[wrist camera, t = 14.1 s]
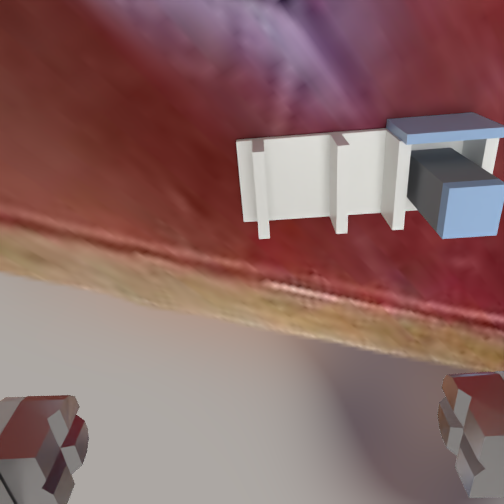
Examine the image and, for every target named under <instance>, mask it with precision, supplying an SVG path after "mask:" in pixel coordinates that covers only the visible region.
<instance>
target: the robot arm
mask: <svg viewBox="0 0 504 504" xmlns="http://www.w3.org/2000/svg"><path fill="white" fill-rule="evenodd" d="M442 390H443V392H444V394H445V396H446V397H445V398H444V399H443V400H442V401H440V402H439V406H438V414H437V415H438V424H439V429H440V433H441V436H442V439H443V441H444V443H445V446H446V448H447V449H449V450H450V451H451V452H453V453H454V454H455V455H456V456H457V460H456V465H455V468H456V470H457V472H458V475H459V477H460V479H461V481H462V483H463V485H464V488H465V490H466V492H467V494H468V497H469V498H491V497H492V498H493V497H504V371H496V372H480V373H464V374H449V375H446V376H445V377H444V379H443V383H442ZM78 409H79V404H78V403H77V400H76V398H75V396H71V395H62V396H28V397H6V398H4V399H3V400H1V401H0V504H67V503H68V500H69V498H70V495H71V493H72V490H73V488H74V485H75V483H74V480H73V477H72V474H73V473H74V472H75V471H76V470H77V469H78V468H79V467H80V466H82V464H83V462H84V459H85V456H86V453H87V448H88V440H89V437H88V428H87V425H86V423H85V421H84V420H83V419H82V418H80V417H79V416H77V415H76V414H77V411H78Z"/></svg>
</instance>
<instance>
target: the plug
mask: <svg viewBox="0 0 504 504" xmlns="http://www.w3.org/2000/svg"><path fill="white" fill-rule="evenodd" d="M407 198H408V199H409V200H410V202H411V203H412V204H413V205H414V206H415V207H416V209H417V210H418V211H419V212H420V213H421V214H422V216H423V217H424V218H425V219H426V220H427V221H428V223H429V224H430V225H431V226H432V227H433V229H434V230H435V231H436V232H437V233H438V234H439V236H440V237H441V238H442V239H447V238H462V237H477V236H492V235H497V231H498V226H499V221H500V217H501V212H502V207H503V202H504V182H503V181H501V180H500V179H498V178H497V177H495V176H494V175H492V174H491V173H489V172H488V171H486V170H484V169H483V168H481V167H480V166H478V165H477V164H475V163H474V162H472V161H471V160H469V159H468V158H466V157H465V156H463V155H461V154H460V153H458V152H457V151H455V150H454V149H452V148H437V149H424V150H411V156H410V166H409V177H408V187H407Z"/></svg>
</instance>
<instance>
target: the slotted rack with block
mask: <svg viewBox="0 0 504 504" xmlns="http://www.w3.org/2000/svg"><path fill="white" fill-rule="evenodd" d="M499 138H504V125H502V124H499V123H497V122H494V121H492V120H490V119H487V118H485V117H483V116H480V115H478V114H476V113H473V112H470V113H458V114H445V115H432V116H419V117H407V118H394V119H387V124H386V128H380V129H367V130H355V131H342V132H329V133H316V134H303V135H290V136H277V137H264V138H251V139H238V140H236V147H237V157H238V168H239V178H240V188H241V199H242V209H243V220H244V222H253V221H258V232H259V239H268V238H270V230H269V220H282V219H296V218H311V217H325V216H330V219H331V221H332V224H333V227H334V229H335V232H336V234H343V233H347V230H348V215H354V214H369V213H381V214H382V215H383V217H384V218H385V220H386V221H387V223H388V225H389V226H390V228H391V229H392V230H402V229H404V218H405V211H412V210H417V209H416V207H415V206H414V205H413V204H412V203H411V202H410V200H409V199H408V198H407V187H408V177H409V166H410V156H411V150H424V149H437V148H452V149H454V150H455V151H457V152H458V153H460V154H461V155H463V156H465V157H466V158H468V159H469V160H471V161H472V162H474V163H475V164H477V165H478V166H480V167H481V168H483V169H484V170H486V171H488V172H489V173H491V174H493V169H494V164H495V158H496V153H497V148H498V143H499Z"/></svg>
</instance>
